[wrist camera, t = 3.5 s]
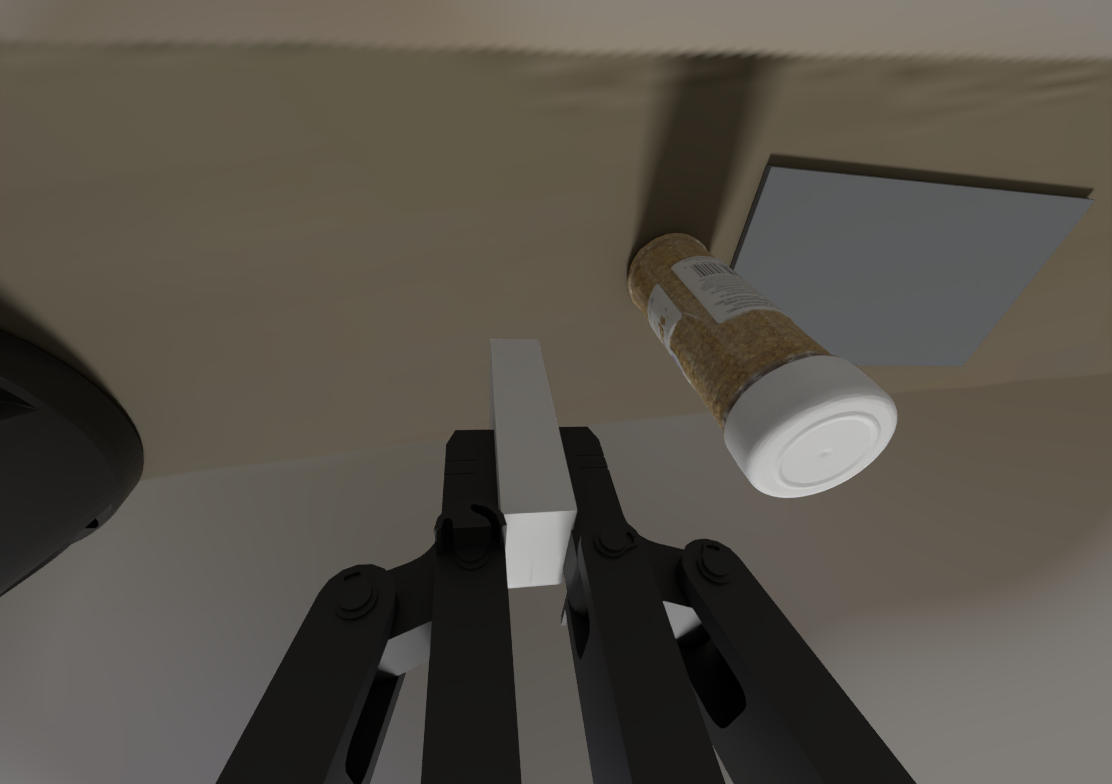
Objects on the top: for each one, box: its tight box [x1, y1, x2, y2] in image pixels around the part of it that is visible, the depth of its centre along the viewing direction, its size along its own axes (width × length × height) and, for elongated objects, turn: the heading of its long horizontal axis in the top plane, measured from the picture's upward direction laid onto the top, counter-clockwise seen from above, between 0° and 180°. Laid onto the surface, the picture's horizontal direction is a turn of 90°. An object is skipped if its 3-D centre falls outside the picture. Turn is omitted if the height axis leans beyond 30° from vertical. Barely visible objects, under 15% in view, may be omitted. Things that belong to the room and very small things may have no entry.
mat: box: [730, 165, 1095, 366], centre depth 26 cm, size 20×11×1 cm, turn 83°
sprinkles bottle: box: [627, 233, 897, 498], centre depth 18 cm, size 5×5×13 cm
